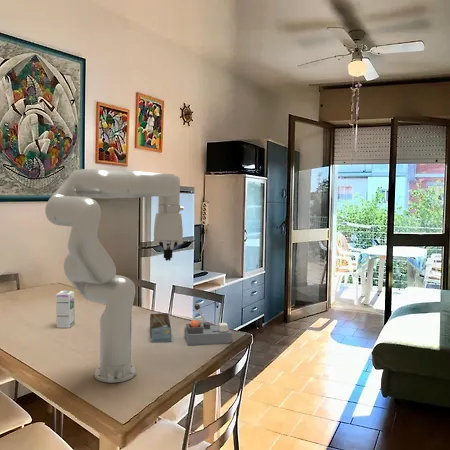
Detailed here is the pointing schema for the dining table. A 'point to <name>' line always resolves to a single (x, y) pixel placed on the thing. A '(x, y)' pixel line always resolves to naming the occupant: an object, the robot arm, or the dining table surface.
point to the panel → (206, 335)
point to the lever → (200, 313)
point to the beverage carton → (160, 327)
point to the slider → (222, 327)
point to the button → (194, 323)
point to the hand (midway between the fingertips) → (167, 259)
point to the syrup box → (65, 309)
